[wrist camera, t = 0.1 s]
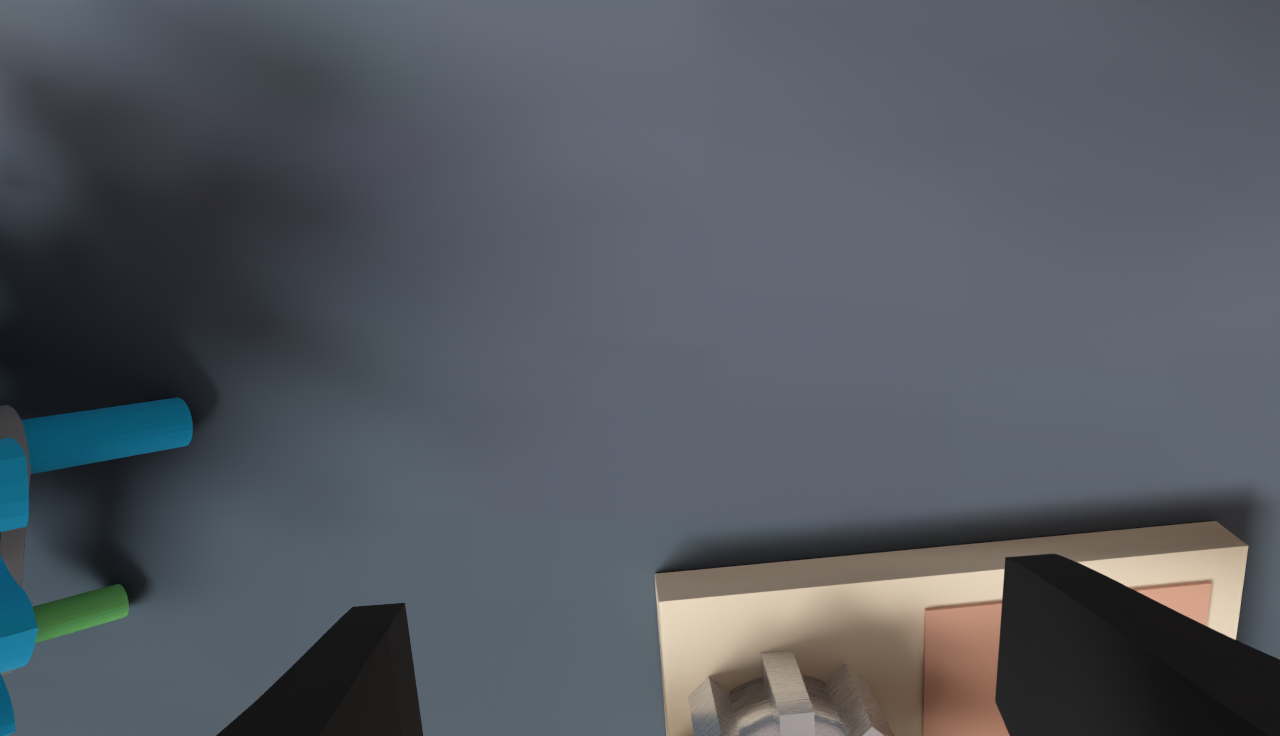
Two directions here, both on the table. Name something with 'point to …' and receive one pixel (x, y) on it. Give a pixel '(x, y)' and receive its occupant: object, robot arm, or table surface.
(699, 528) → the table surface
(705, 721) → the sun gear
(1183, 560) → the plate
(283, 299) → the table surface
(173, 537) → the table surface
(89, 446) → the toy dinosaur
